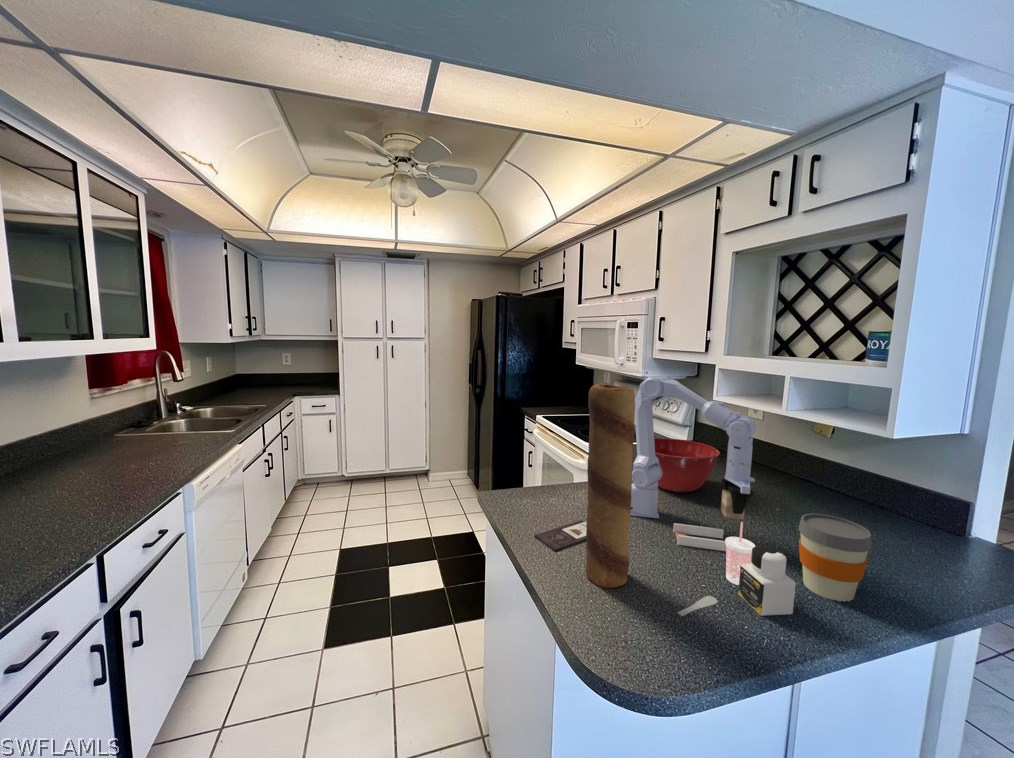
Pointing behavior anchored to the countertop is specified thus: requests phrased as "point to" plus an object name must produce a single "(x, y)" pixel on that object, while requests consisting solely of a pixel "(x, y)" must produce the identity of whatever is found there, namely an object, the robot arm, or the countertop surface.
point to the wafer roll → (609, 483)
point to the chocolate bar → (564, 536)
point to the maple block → (728, 506)
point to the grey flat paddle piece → (699, 605)
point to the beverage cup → (737, 555)
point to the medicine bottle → (767, 582)
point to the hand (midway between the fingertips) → (734, 509)
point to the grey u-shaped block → (685, 540)
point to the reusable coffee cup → (833, 555)
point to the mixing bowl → (684, 463)
